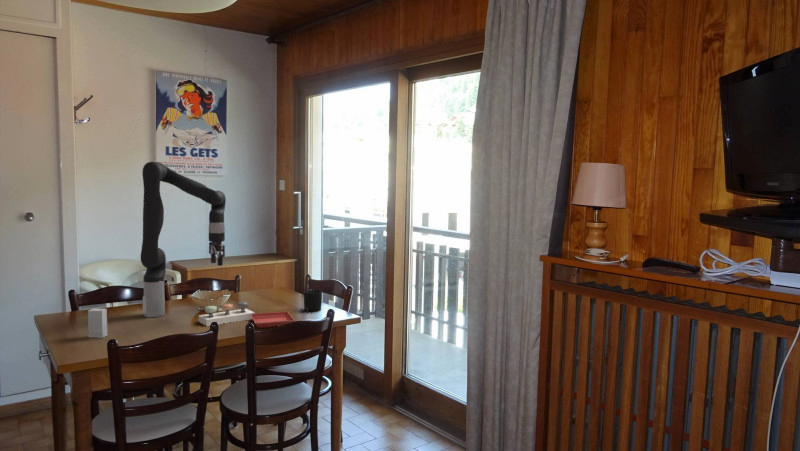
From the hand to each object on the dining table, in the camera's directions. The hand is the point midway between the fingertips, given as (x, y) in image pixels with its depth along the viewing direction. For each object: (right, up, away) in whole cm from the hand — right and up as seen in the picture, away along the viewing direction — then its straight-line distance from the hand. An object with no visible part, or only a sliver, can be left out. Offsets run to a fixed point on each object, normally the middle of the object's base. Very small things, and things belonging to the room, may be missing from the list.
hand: (216, 264), depth 274 cm
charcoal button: (+13, -24, 0) cm, 27 cm away
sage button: (+1, -25, -11) cm, 27 cm away
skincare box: (-38, -29, -37) cm, 60 cm away
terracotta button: (+7, -24, -6) cm, 26 cm away
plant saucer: (+29, -28, -8) cm, 41 cm away
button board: (+7, -27, -5) cm, 28 cm away
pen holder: (+44, -26, +18) cm, 54 cm away
